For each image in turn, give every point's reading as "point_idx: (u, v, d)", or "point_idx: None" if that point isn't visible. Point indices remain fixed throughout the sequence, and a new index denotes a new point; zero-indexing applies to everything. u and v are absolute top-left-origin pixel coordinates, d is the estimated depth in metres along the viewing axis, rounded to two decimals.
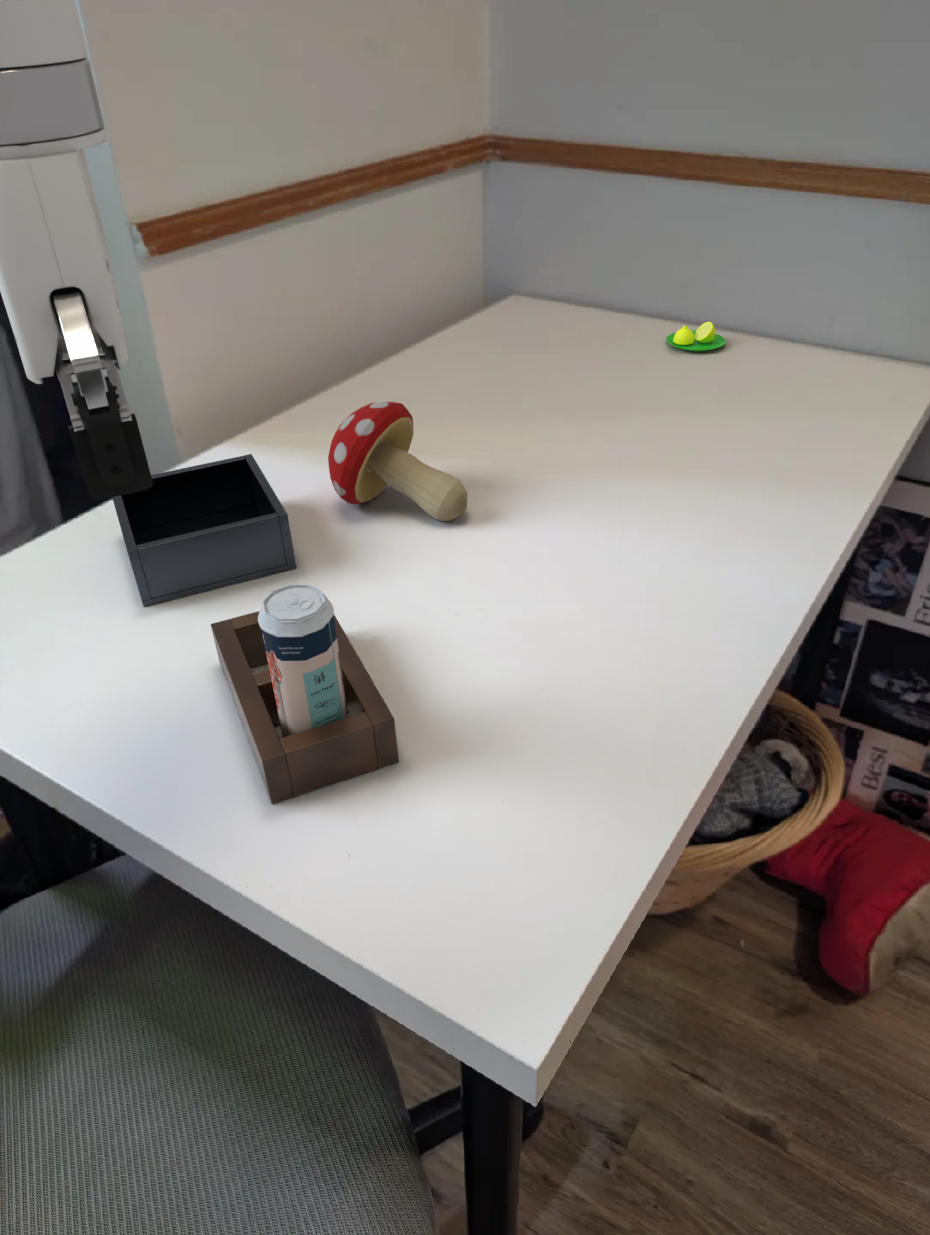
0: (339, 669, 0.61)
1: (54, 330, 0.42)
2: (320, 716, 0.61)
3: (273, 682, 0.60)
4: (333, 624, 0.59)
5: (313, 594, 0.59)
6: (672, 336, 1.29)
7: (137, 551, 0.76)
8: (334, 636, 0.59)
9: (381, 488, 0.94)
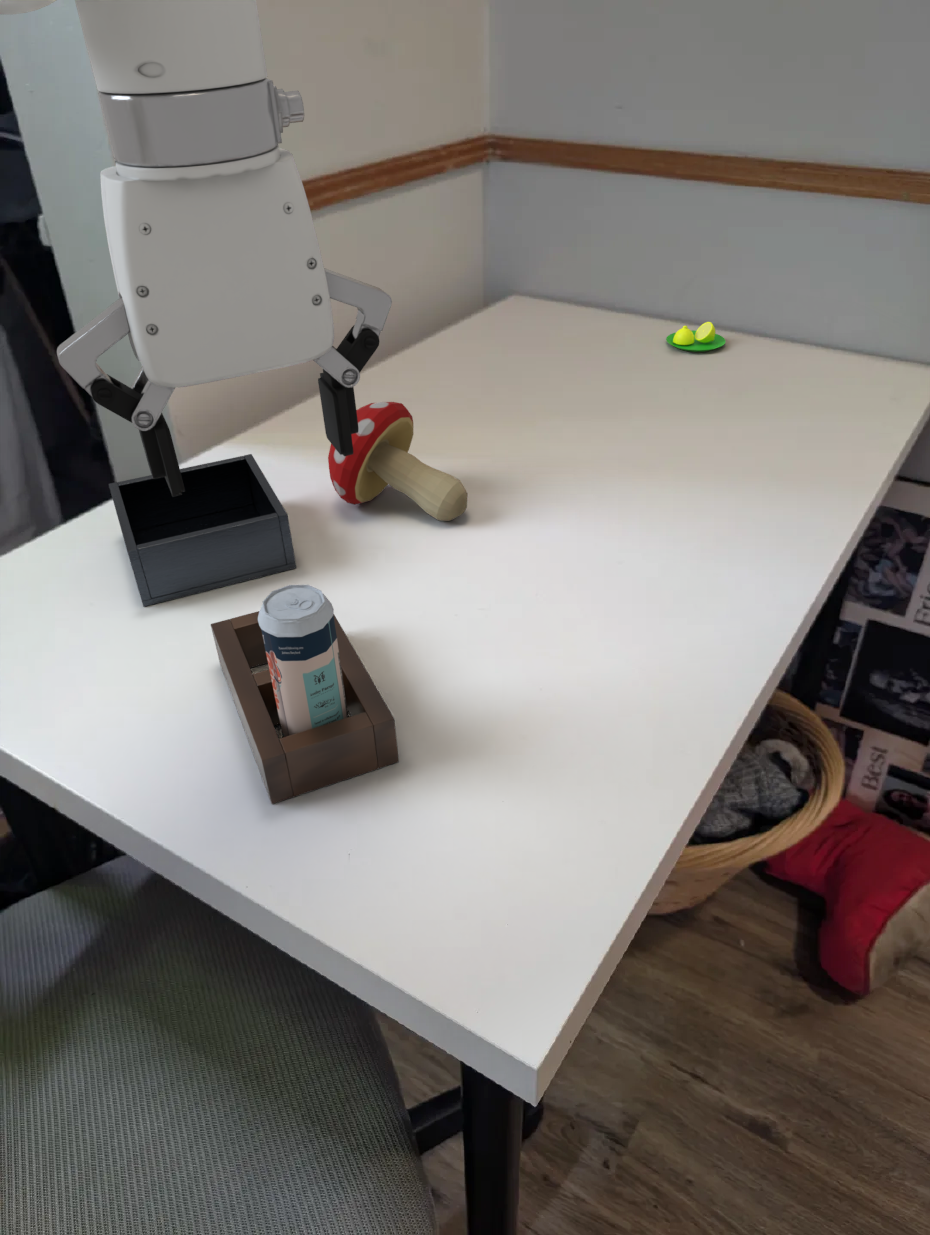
0: (339, 669, 0.61)
1: None
2: (320, 716, 0.61)
3: (273, 682, 0.60)
4: (333, 624, 0.59)
5: (313, 594, 0.59)
6: (672, 336, 1.29)
7: (137, 551, 0.76)
8: (334, 636, 0.59)
9: (381, 488, 0.94)
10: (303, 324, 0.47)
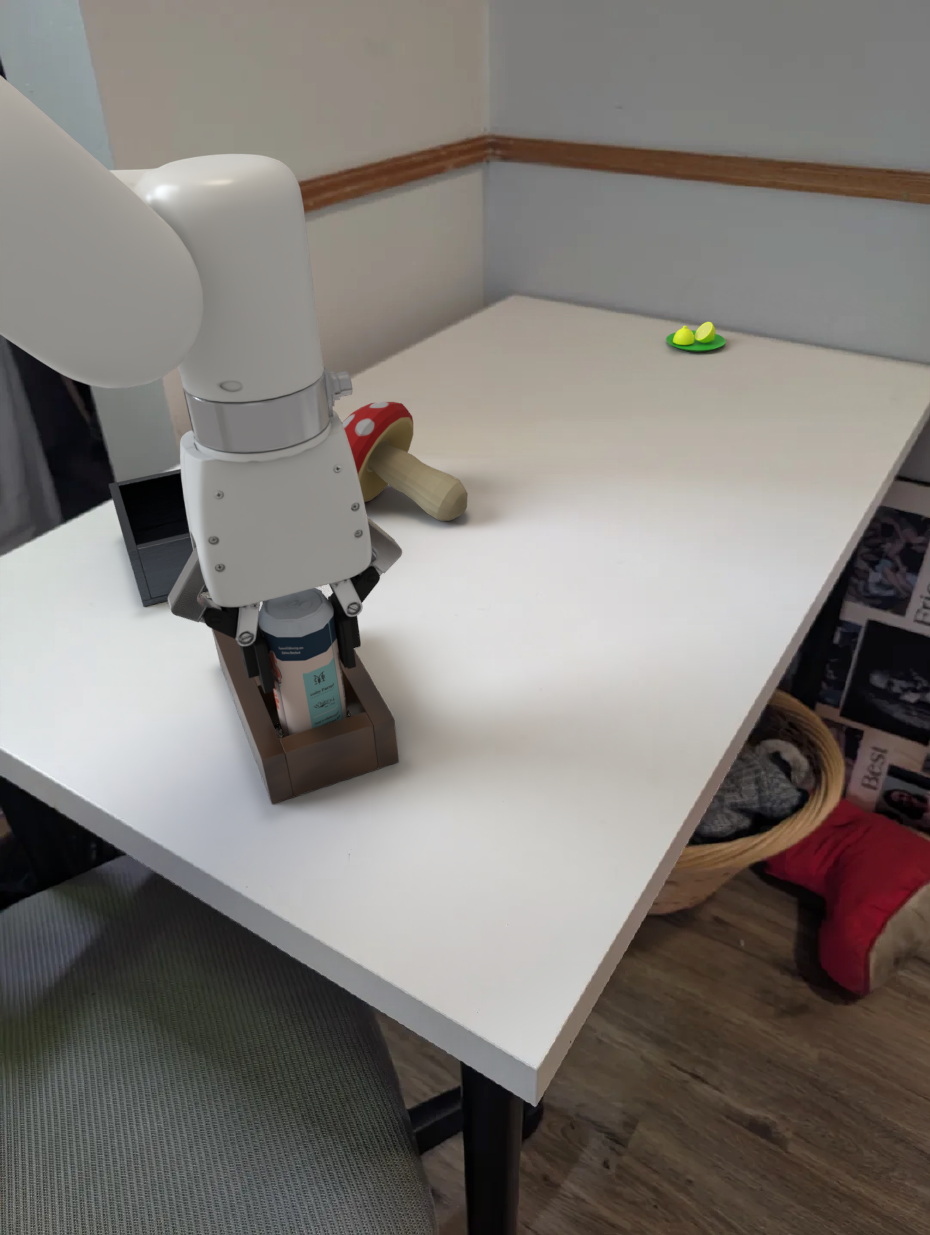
0: (339, 669, 0.61)
1: None
2: (320, 716, 0.61)
3: None
4: (333, 624, 0.59)
5: (313, 594, 0.59)
6: (672, 336, 1.29)
7: (137, 551, 0.76)
8: (334, 636, 0.59)
9: (381, 488, 0.94)
10: (346, 553, 0.55)
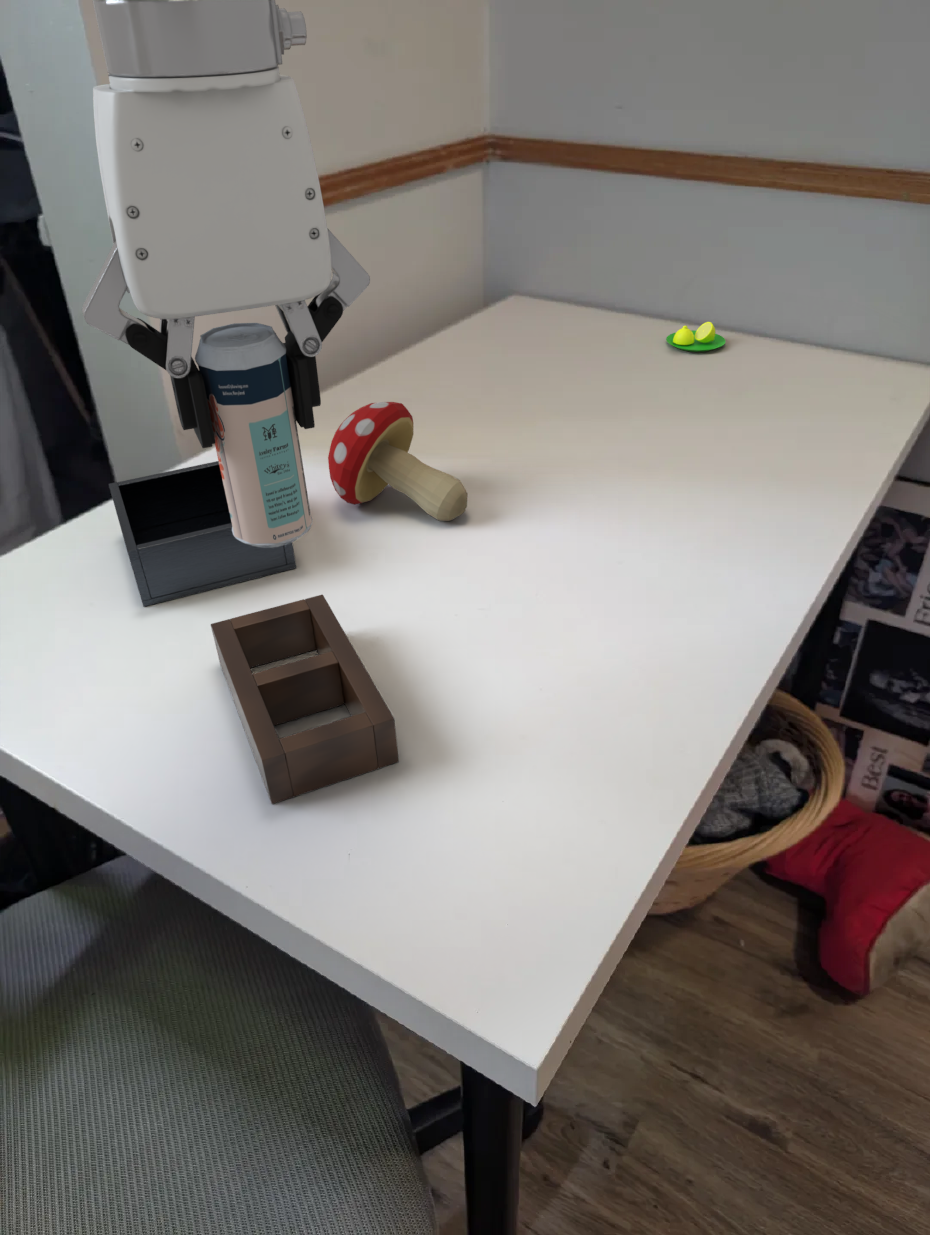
0: (295, 430, 0.51)
1: None
2: (272, 485, 0.51)
3: (215, 441, 0.50)
4: (285, 366, 0.49)
5: (261, 330, 0.49)
6: (672, 336, 1.29)
7: (137, 551, 0.76)
8: (287, 382, 0.49)
9: (381, 488, 0.94)
10: (299, 258, 0.45)
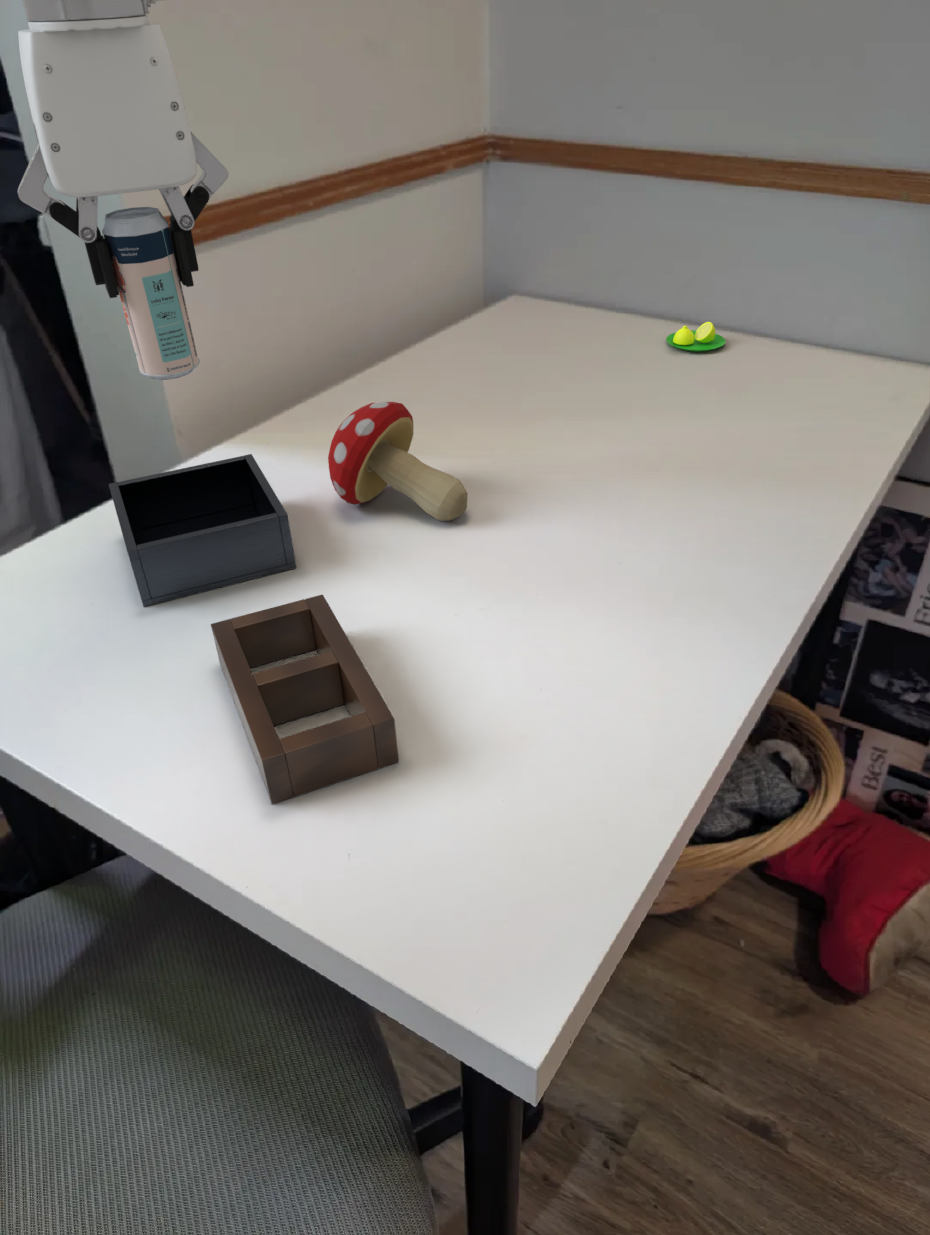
0: (179, 287, 0.70)
1: None
2: (163, 328, 0.70)
3: (120, 294, 0.69)
4: (168, 236, 0.68)
5: (151, 211, 0.68)
6: (672, 336, 1.29)
7: (137, 551, 0.76)
8: (170, 249, 0.68)
9: (381, 488, 0.94)
10: (170, 154, 0.64)
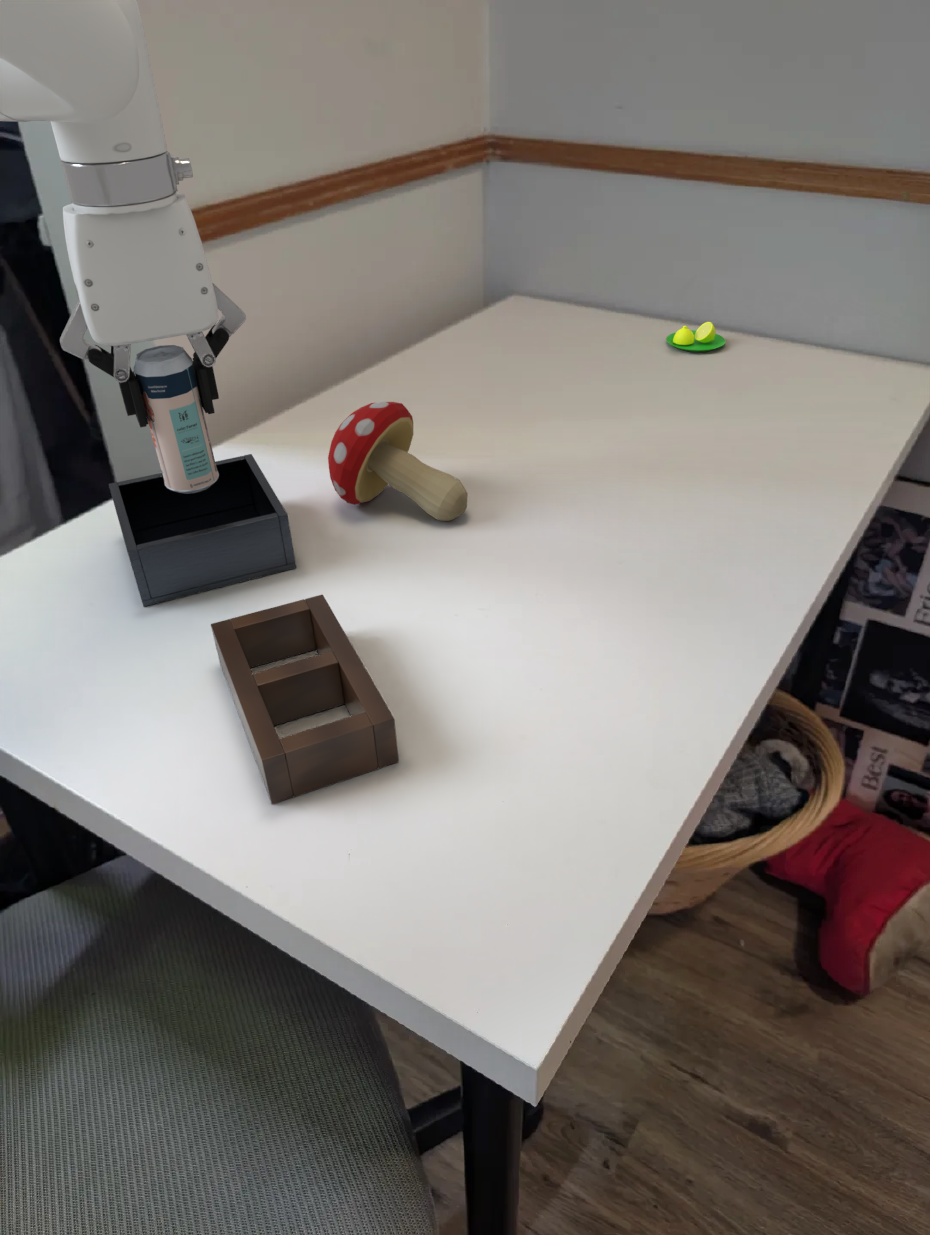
0: (201, 414, 0.78)
1: None
2: (187, 451, 0.78)
3: (149, 422, 0.77)
4: (192, 373, 0.76)
5: (176, 350, 0.76)
6: (672, 336, 1.29)
7: (137, 551, 0.76)
8: (194, 383, 0.76)
9: (381, 488, 0.94)
10: (195, 306, 0.72)
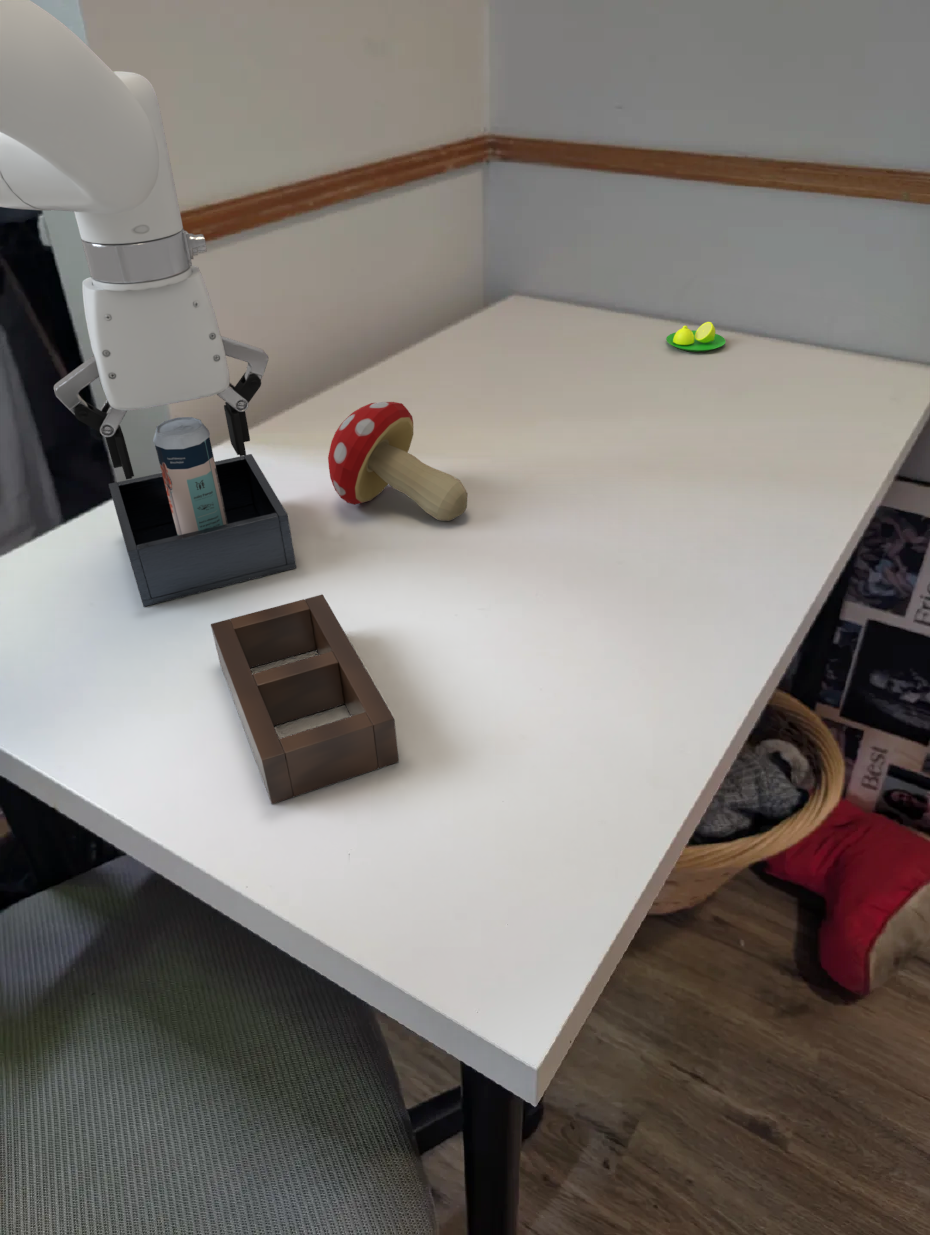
0: (217, 482, 0.82)
1: None
2: (203, 517, 0.82)
3: (167, 490, 0.81)
4: (209, 444, 0.80)
5: (194, 422, 0.80)
6: (672, 336, 1.29)
7: (137, 551, 0.76)
8: (210, 454, 0.80)
9: (381, 488, 0.94)
10: (208, 372, 0.75)
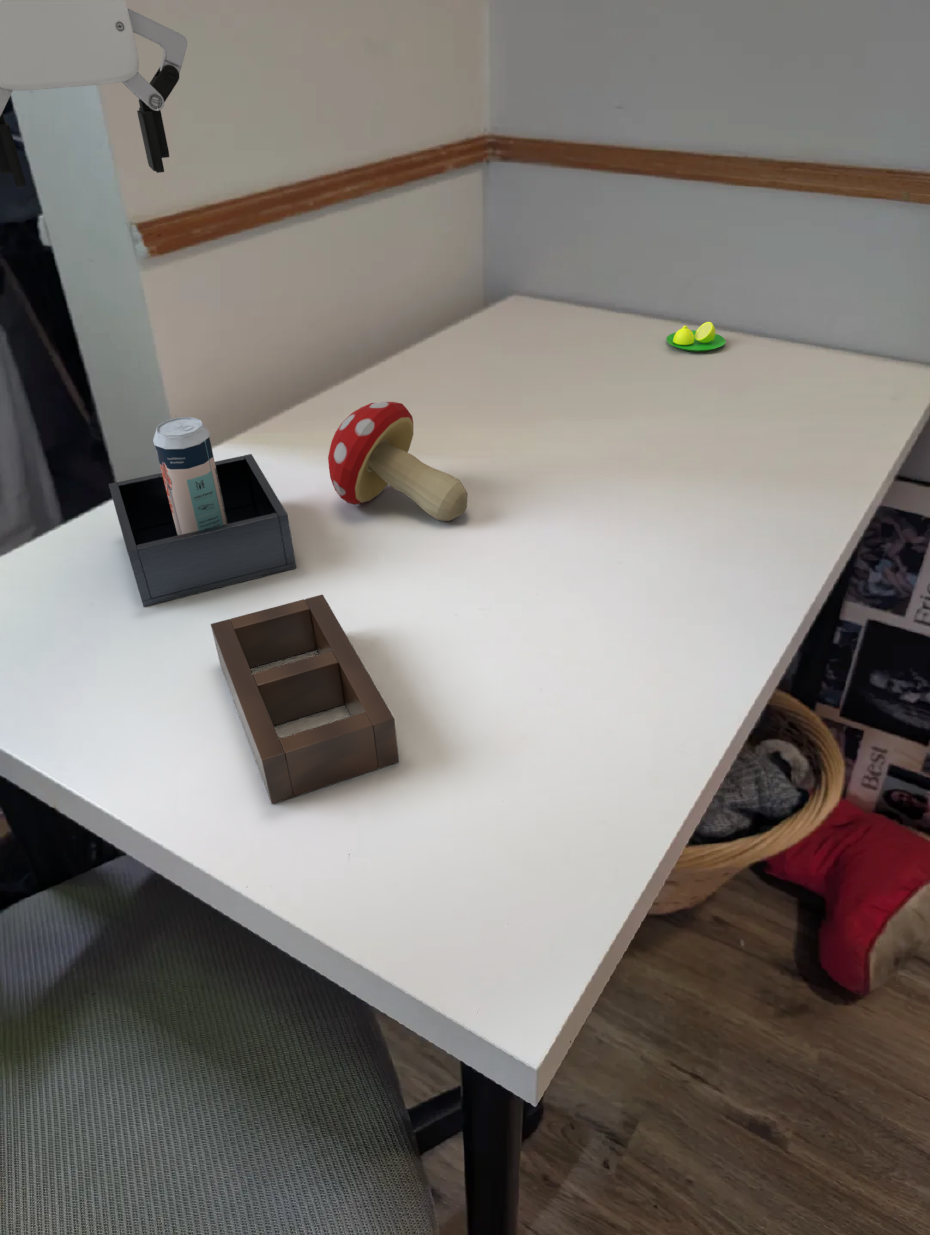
0: (217, 482, 0.82)
1: None
2: (203, 517, 0.82)
3: (167, 490, 0.81)
4: (209, 444, 0.80)
5: (194, 422, 0.80)
6: (672, 336, 1.29)
7: (137, 551, 0.76)
8: (210, 454, 0.80)
9: (381, 488, 0.94)
10: (110, 46, 0.62)
